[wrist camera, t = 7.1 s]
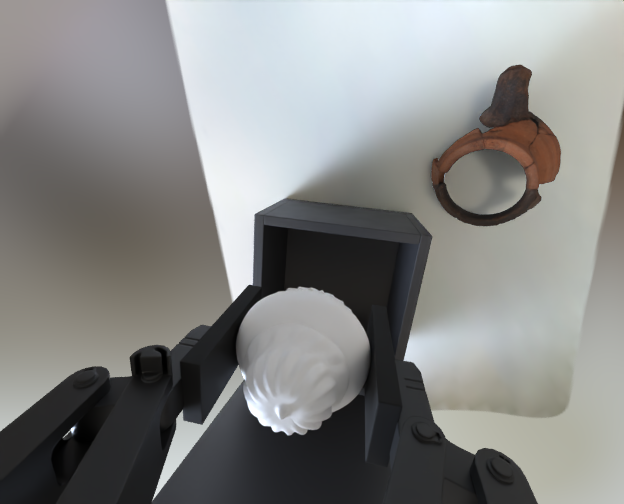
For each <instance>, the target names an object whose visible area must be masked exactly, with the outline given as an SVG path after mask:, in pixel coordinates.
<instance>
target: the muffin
mask: <svg viewBox="0 0 624 504" xmlns="http://www.w3.org/2000/svg"><path fill="white" fill-rule="evenodd" d="M236 354H237V360H238V364H239V367H240V370H241V373H242V375H243V377H244V379H245V383H244V387H243V391H244V395H245V398H246V400H247V404H248V407H249V410H250V412H251V413H252V414H253V415H254V416H255V417H257V418H258V420H259V422H260V423H261V424H262V425H263V426H271V428H272V430H273V431H274V432H279V431H283V432H285V433H286V434H287V435H292V434H293V433H294V432H296V433H298V434H300V435H304V434H306V433H307V431H308V429H309V430H317V429H319V428H320V427H321V424H322V421H324V420H326V419H328V418H330V417H331V415H332V412H335V411H337V410H339V409H341V408H343V407H344V406H346V405H347V404H348V403H350V402H351V401H352V400H353V399H354V398H355V397H356V396H357V395H358V394H359V392H360V391H361V389H362V387H363V386H364V384H365V381H366V379H367V376H368V373H369V369H370V363H371V351H370V344H369V340H368V337H367V335H366V332H365V330H364V328H363V327H362V325H361V323H360V322H359V320H358V319H357V318H356V316H355V315H354V314H353V313H352V310H351V309H349V308H348V307H346V306H345V305H344V302H343V301H341V300H339V299H337V298H335V297H334V295H332V294H329V293H324V291H323V290H321V291H318V290H317V289H315V288H304V287H298V288H297V289H295V288H288V289H287V290H286V291H278V292H277V293H274V294H271V295H269V296H267V297H265V298H263V299H261V300H260V301H258V302H257V303H256V304H255V305H254V306H253V307H252V308H251V309H250V310H249V311H248V313H247V314H246V316H245V317H244V319H243V321H242V323H241V325H240V328H239V331H238V334H237V339H236Z"/></svg>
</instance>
